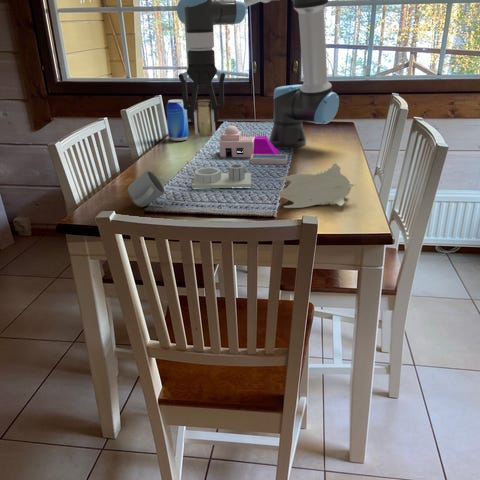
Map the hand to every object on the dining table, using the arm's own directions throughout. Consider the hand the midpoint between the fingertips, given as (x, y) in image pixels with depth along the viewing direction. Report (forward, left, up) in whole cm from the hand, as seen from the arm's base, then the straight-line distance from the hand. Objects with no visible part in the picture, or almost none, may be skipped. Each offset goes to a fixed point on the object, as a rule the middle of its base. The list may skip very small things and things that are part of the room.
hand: (205, 132), depth 139 cm
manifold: (-5, 0, -16) cm, 17 cm away
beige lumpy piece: (-33, +19, -18) cm, 42 cm away
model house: (-15, -29, -17) cm, 37 cm away
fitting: (0, 0, -1) cm, 1 cm away
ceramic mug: (+15, +20, -16) cm, 30 cm away
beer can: (+17, -59, -16) cm, 64 cm away
